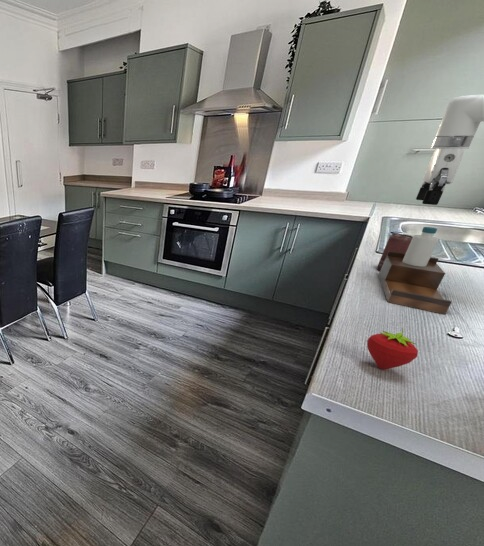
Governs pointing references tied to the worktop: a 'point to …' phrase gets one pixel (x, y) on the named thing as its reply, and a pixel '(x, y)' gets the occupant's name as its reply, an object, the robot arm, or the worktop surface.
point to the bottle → (421, 247)
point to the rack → (413, 283)
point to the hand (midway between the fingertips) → (425, 202)
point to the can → (395, 246)
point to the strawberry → (391, 350)
